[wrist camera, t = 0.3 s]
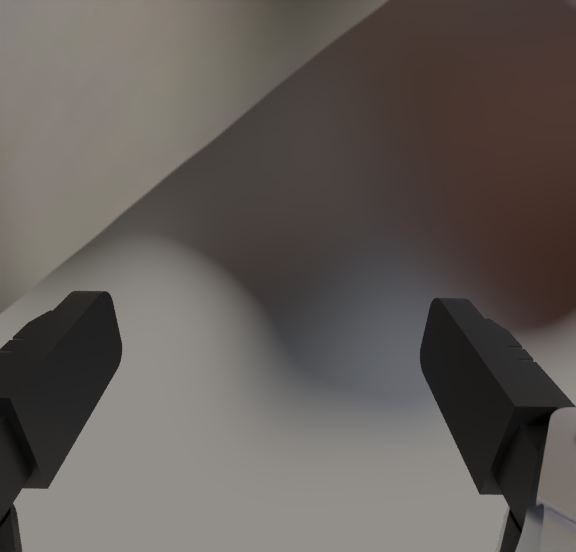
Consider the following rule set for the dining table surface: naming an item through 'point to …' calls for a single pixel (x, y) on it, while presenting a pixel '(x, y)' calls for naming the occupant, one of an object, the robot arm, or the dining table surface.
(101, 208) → the dining table surface
